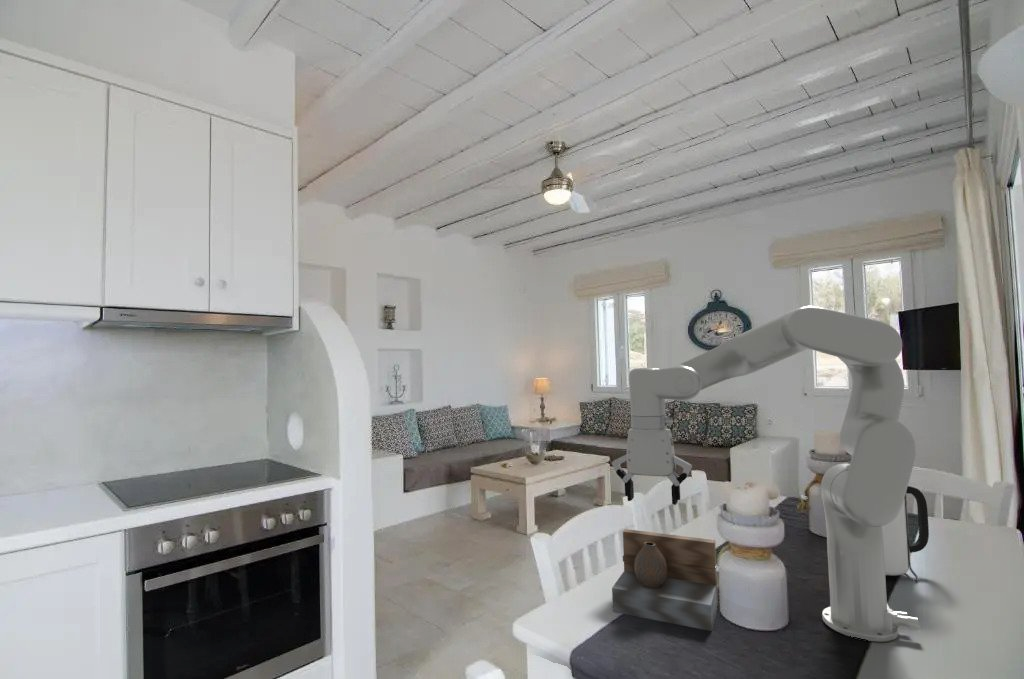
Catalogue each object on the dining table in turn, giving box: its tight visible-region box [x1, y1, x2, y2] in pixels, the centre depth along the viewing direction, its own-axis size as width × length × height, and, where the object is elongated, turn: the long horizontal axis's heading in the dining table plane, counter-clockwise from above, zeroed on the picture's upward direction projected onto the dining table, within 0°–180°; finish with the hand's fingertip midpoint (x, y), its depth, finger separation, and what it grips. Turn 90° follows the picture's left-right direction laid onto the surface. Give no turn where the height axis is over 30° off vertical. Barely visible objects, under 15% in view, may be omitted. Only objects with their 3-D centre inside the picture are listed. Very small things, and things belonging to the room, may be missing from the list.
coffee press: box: [846, 460, 930, 582], centre depth 129 cm, size 17×16×30 cm
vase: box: [634, 542, 667, 588], centre depth 113 cm, size 7×7×9 cm
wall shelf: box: [611, 528, 719, 632], centre depth 112 cm, size 20×12×14 cm, turn 63°
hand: (652, 501), depth 114 cm, fingers open, 9 cm apart
